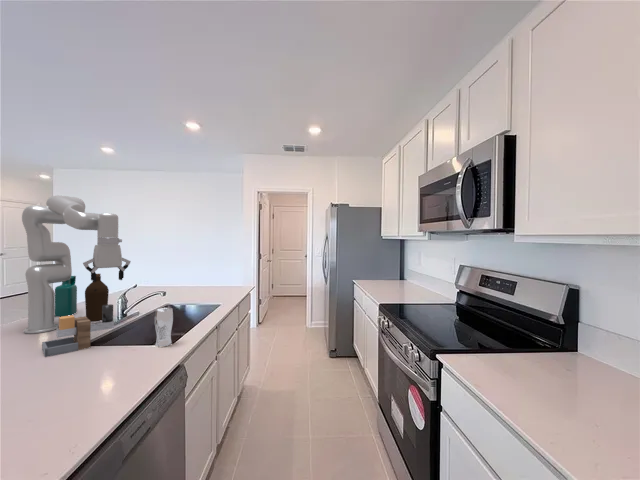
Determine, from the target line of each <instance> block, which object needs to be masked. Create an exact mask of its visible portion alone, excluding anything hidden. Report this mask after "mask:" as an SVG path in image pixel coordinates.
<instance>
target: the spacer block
mask: <svg viewBox="0 0 640 480" xmlns="http://www.w3.org/2000/svg"><path fill="white" fill-rule="evenodd" d="M75 318H76V317H75V316H74V315H70V316H61V317H58V325H59V327H58V328H59V329H60V330H64V329H70V328H75Z"/></svg>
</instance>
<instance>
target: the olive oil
mask: <svg viewBox="0 0 640 480" xmlns="http://www.w3.org/2000/svg"><path fill="white" fill-rule="evenodd" d="M109 291H110V290H109V287H108V285H106V283H104V282H103V281H102V275H101V273H96V282H93V281H92V282H91V283H89V284H88V286H87V287H86V288H85V290H84V300H85V301H84V303H85V316H86V317H87V318H88V319H89V320H90V321H91V322H101V321H102V306H103V305H109V302H108V301H109ZM100 320H101V321H100Z"/></svg>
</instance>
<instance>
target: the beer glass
mask: <svg viewBox="0 0 640 480" xmlns="http://www.w3.org/2000/svg"><path fill="white" fill-rule="evenodd" d="M173 322H174V312H173V308H172V307H161V308H160V307H159V308H157V309H155V313H154V326H155V327H154V328H155V334H156V341H155V347H157V346H165V347H168V346H171V345H172V344H173V343H172V335H171V334H172V329H173V324H174V323H173Z"/></svg>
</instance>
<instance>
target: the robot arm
mask: <svg viewBox="0 0 640 480" xmlns="http://www.w3.org/2000/svg"><path fill="white" fill-rule="evenodd" d="M45 204H46V205H40V204H39V205H38V204H37V205H29V206H26V207H25V208H24V209H23V211H22V214H21V222H22V225H23V227H24V230H25V233H26V241H27V242H26V244H27V252H28V253H27V254H28V258H29V260H30V261H32V262H36V263H39V262H41V263H43V262H44V263H45V264H44V263H43V264H35V265H32V266H30V267H28V268H27V269H26V271H25V274H24V275H25V276H24V277H25V280H26V284H27V285H26V286H27V299H28V300H27V306H28V307H27V327H25V328H24V329H23V331H22V332H23V333H24V334H41V333H45V332H52V331H54V330H56V329H57V328H59V323H55V289H54V288H53V287H52V286H51V285H50V284H55V283H62V282H65V281H67V280H69V279H70V278H71V276H73V275H72V274H73V270H72V257H71V249H70V248H69V245H67V244H66V243H64V242H60V241H58V242H57V241H53V242H52V239H51V233H50V230H49V229H48V228H47V227H46V225H47V224H49V225H51V224H52V225H67V226H69V227H71V228H73V229H74V230H75V229H76V230H82V231H97V235H96V236H97V244H94V248H93V256H92V258H90V259H88V260H86V261H83V262H82V264H83V266H84V267H85V269H86V270H87V271H89V272H90V280H91V281H92V282H96V274H97V273H96V271H97V270H98V269H110V268H117V269H118V270H119V271H118V280H119V281H123V279H124V278H125V277H124V276H125V273H124V272H125V271H126V269H127V268H128V267H129V266H130V264H131V260H129V259H127V258H124V257H122V249H121V245H120V244H119V243H122V242H123V239H120V238H119V215H117V214H115V213H107V212H105V213H104V212H103V213H95V212H86V204H85V202H84V201H83V200H82V199H81V198H80V197H75V196H67V195H52V196H50V197H48V199H47V200H46V203H45ZM44 224H46V225H44ZM46 262H54V263H48V264H47V263H46ZM123 262H125V264H124V265H123V266H122V264H123ZM91 263H92V266H93V267H92V268H91V267H90V266H89V265H90V264H91Z"/></svg>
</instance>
